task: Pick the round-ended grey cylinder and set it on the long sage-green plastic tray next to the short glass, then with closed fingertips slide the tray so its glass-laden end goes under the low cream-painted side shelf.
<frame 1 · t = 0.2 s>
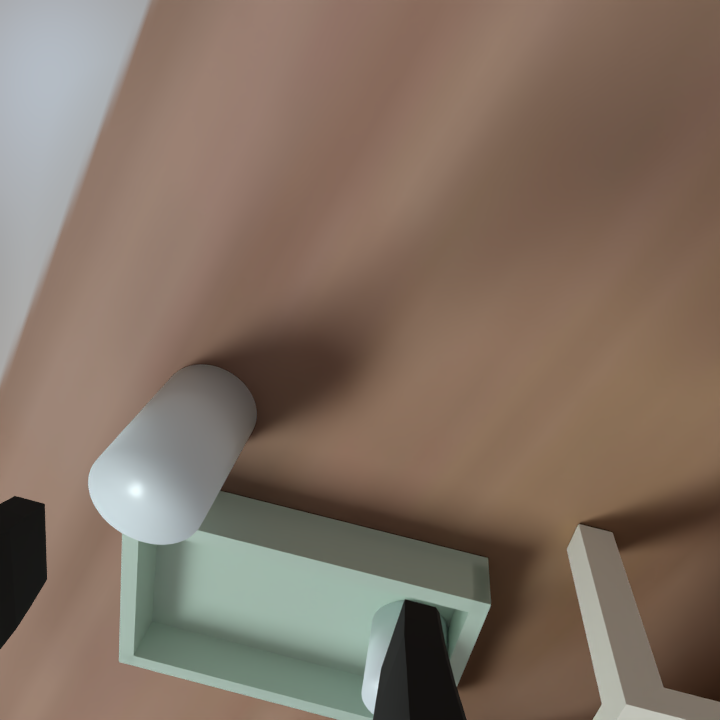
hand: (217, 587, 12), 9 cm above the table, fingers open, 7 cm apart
shelf: (632, 675, 24), on the table
tray: (301, 590, 25), on the table
round-ended grey cylinder: (209, 407, 22), on the table
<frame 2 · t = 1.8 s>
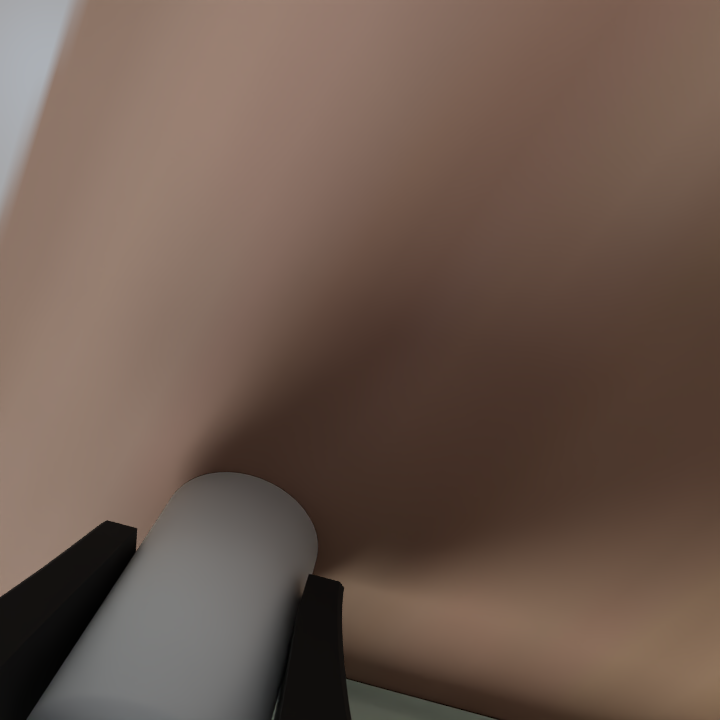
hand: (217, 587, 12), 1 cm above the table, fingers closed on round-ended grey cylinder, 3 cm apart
round-ended grey cylinder: (240, 537, 13), on the table, touching gripper
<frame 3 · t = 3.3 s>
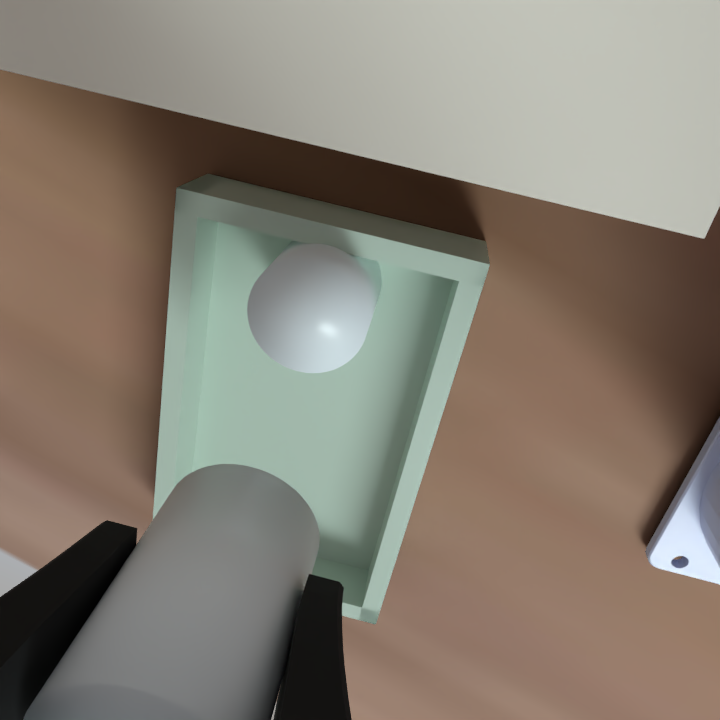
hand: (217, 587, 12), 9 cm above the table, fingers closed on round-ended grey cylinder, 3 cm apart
tray: (307, 402, 20), on the table
round-ended grey cylinder: (242, 529, 13), point 7 cm above the table, touching gripper
when the fingers open (3 cm above the table, at t = 4.6 s): round-ended grey cylinder drops 1 cm, resting on tray.
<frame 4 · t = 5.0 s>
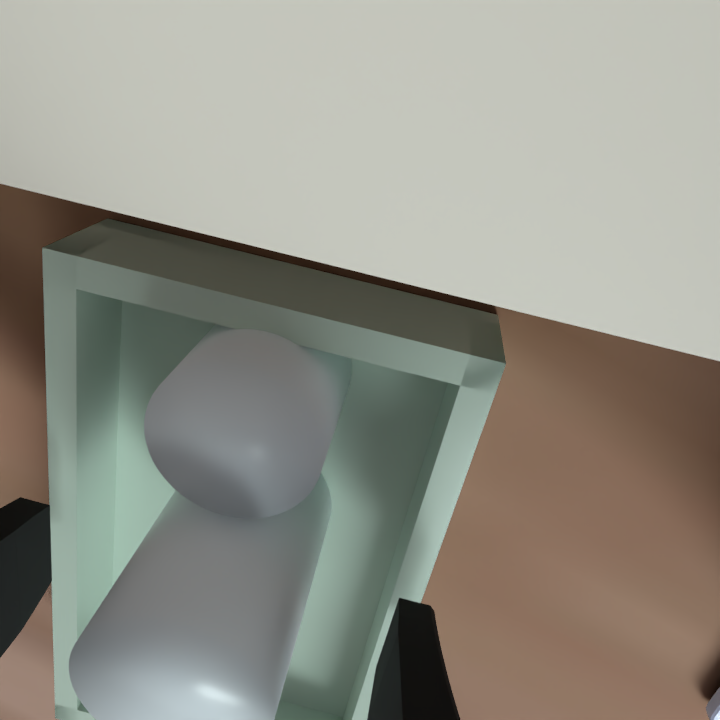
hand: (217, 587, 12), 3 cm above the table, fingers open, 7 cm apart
tray: (258, 514, 15), on the table, touching round-ended grey cylinder
round-ended grey cylinder: (259, 497, 14), resting on tray
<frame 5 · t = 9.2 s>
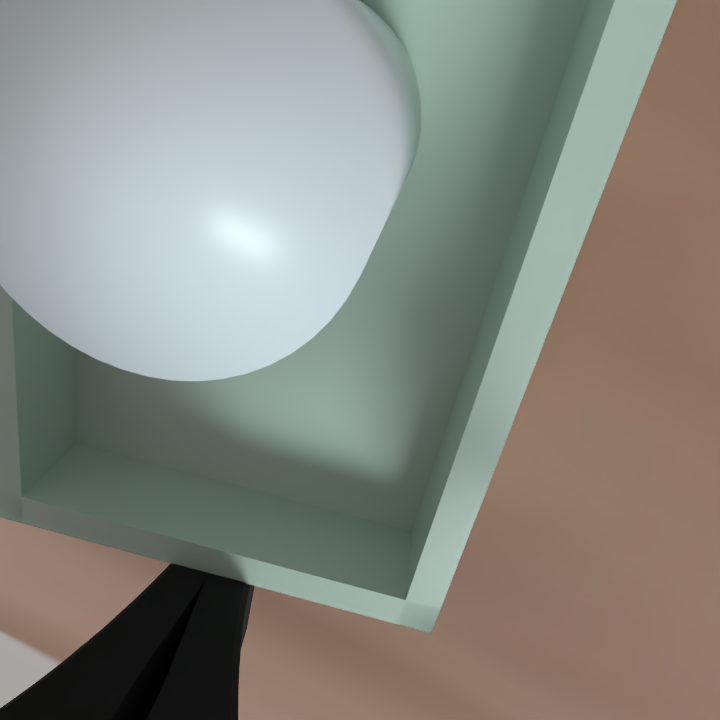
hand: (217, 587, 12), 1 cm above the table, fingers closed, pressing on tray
tray: (297, 179, 10), on the table, touching gripper, round-ended grey cylinder
round-ended grey cylinder: (303, 120, 9), point 1 cm above the table, touching tray
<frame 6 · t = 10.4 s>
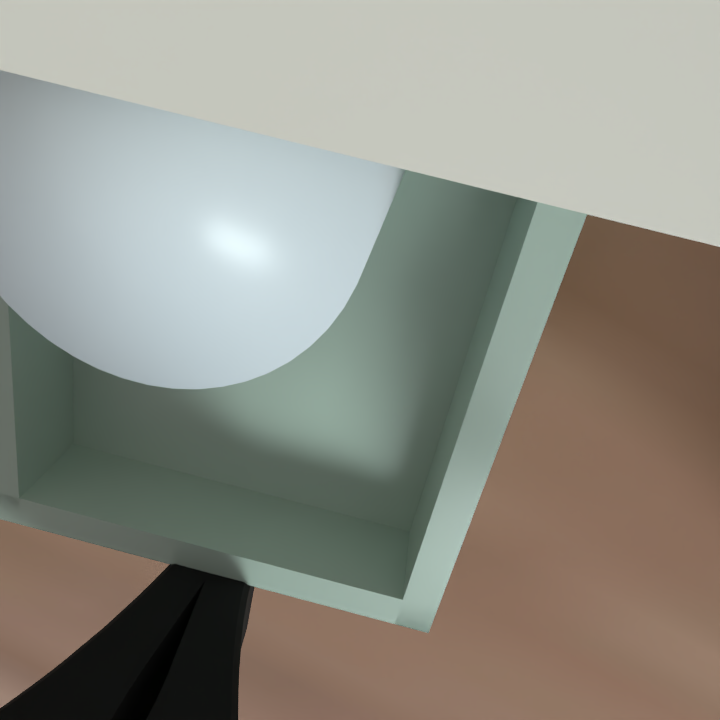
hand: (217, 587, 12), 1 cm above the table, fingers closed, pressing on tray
tray: (293, 180, 10), on the table, touching gripper, round-ended grey cylinder
round-ended grey cylinder: (298, 120, 9), point 1 cm above the table, touching tray
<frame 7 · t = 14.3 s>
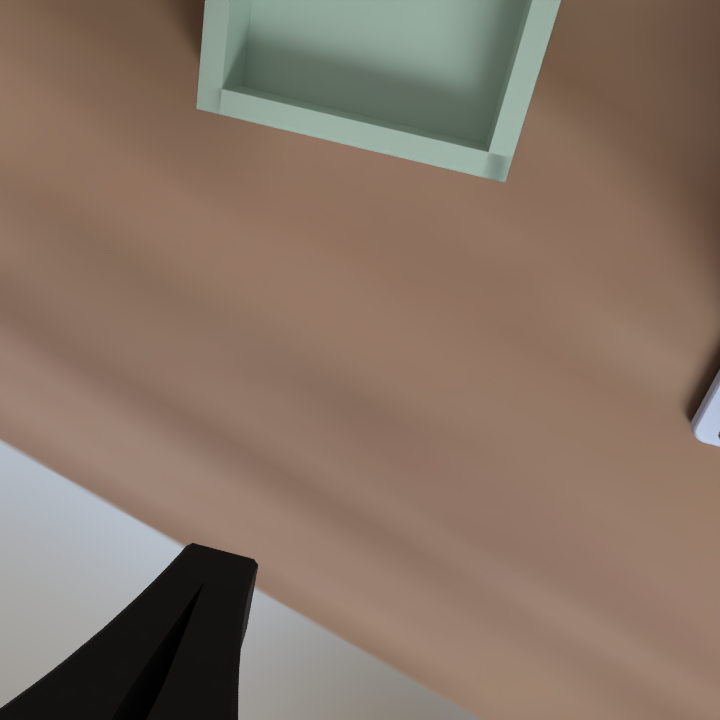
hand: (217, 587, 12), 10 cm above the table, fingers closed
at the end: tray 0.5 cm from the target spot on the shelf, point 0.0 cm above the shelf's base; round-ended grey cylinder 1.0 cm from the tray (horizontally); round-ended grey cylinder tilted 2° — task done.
